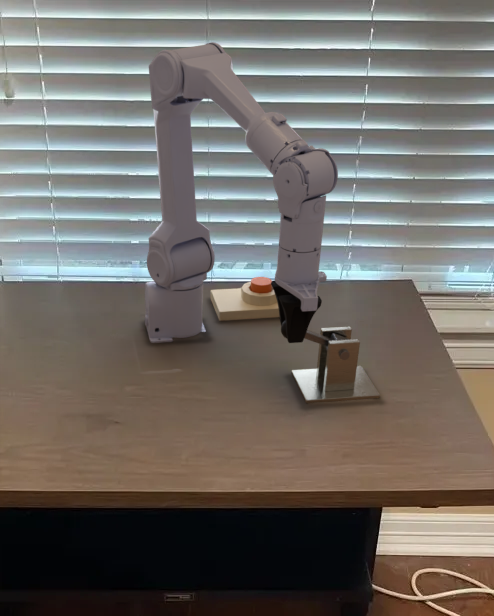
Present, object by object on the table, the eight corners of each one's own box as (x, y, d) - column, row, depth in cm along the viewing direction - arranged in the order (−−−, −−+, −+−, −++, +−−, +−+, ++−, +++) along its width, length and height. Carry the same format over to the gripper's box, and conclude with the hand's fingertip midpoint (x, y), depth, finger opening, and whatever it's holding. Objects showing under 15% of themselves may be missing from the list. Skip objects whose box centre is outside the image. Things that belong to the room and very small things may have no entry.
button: (252, 295, 157) (253, 285, 156) (248, 286, 160) (248, 277, 159) (273, 294, 157) (274, 284, 156) (268, 285, 160) (269, 276, 159)
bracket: (305, 406, 133) (311, 352, 128) (290, 375, 140) (295, 323, 135) (379, 400, 134) (387, 346, 129) (360, 370, 142) (367, 318, 136)
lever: (279, 339, 130) (289, 321, 128) (275, 329, 132) (284, 312, 130) (345, 362, 133) (355, 345, 132) (339, 352, 136) (349, 335, 134)
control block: (219, 321, 156) (219, 302, 154) (210, 298, 163) (210, 280, 161) (288, 316, 157) (290, 297, 155) (276, 294, 164) (277, 276, 162)
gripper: (344, 264, 118) (333, 358, 126) (314, 224, 130) (306, 312, 137) (290, 267, 117) (283, 361, 125) (265, 226, 129) (260, 315, 137)
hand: (292, 336), depth 131 cm, fingers closed on lever, 3 cm apart
